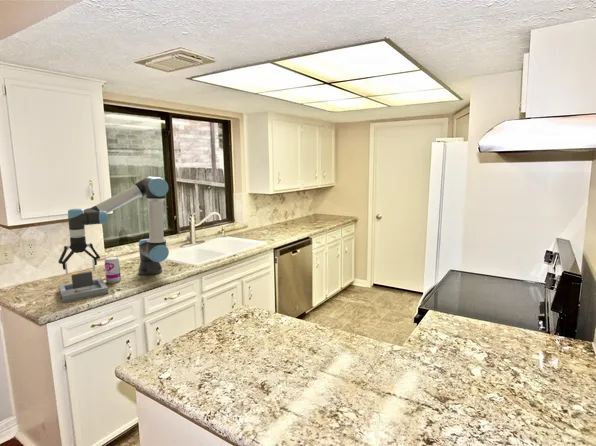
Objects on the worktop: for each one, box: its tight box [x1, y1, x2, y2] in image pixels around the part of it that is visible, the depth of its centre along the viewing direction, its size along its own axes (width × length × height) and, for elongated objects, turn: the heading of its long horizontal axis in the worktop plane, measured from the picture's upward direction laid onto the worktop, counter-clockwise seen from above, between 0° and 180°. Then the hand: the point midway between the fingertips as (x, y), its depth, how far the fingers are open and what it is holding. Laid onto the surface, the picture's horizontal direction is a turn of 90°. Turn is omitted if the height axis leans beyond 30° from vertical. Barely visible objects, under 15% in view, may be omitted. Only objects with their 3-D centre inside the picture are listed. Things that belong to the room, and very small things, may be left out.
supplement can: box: [104, 256, 122, 284], centre depth 229 cm, size 8×8×15 cm
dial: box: [70, 270, 94, 292], centre depth 210 cm, size 10×8×10 cm
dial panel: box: [58, 277, 109, 304], centre depth 211 cm, size 22×22×4 cm
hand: (80, 272), depth 209 cm, fingers open, 13 cm apart
